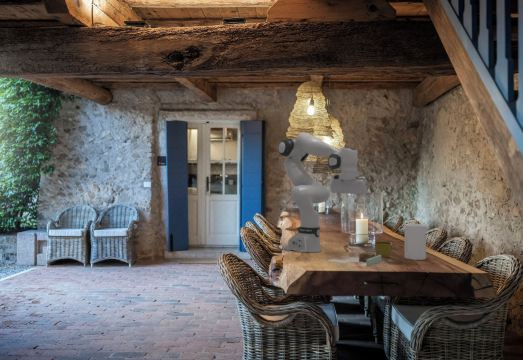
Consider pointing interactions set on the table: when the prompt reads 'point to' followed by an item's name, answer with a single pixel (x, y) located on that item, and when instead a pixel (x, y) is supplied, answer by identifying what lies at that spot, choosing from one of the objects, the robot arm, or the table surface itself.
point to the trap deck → (367, 263)
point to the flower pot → (383, 249)
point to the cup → (415, 241)
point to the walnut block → (365, 256)
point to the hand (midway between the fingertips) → (348, 201)
